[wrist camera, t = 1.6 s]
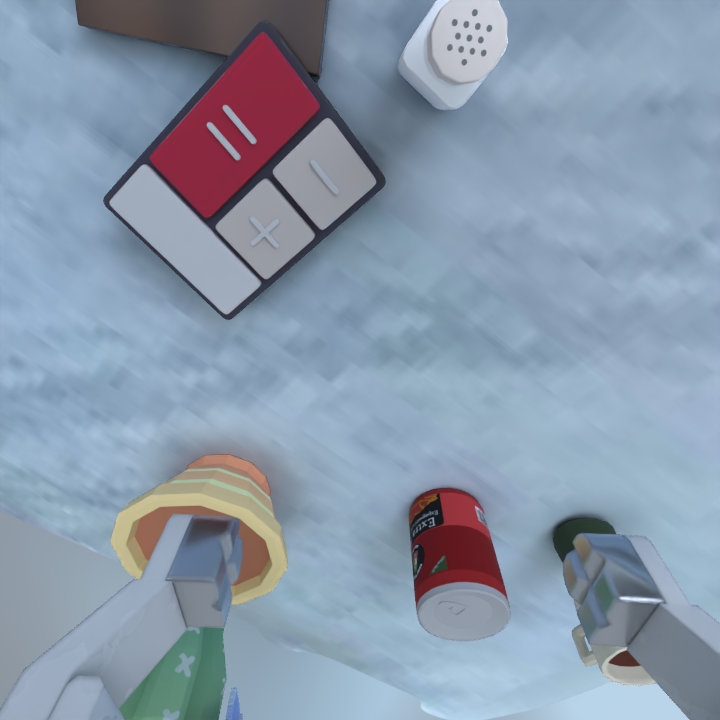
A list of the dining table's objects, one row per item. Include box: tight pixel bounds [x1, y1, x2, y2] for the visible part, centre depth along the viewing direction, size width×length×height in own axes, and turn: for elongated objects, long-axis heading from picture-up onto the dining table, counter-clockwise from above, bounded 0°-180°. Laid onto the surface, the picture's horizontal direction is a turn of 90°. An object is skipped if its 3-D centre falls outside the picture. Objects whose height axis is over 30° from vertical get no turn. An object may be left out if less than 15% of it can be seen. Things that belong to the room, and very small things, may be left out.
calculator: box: [103, 20, 385, 320], centre depth 29 cm, size 11×4×15 cm
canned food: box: [409, 488, 511, 641], centre depth 41 cm, size 8×8×11 cm
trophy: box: [553, 518, 656, 686], centre depth 41 cm, size 11×7×13 cm, turn 146°
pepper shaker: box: [397, 0, 508, 110], centre depth 22 cm, size 4×4×10 cm
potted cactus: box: [110, 454, 288, 720], centre depth 34 cm, size 15×15×25 cm
